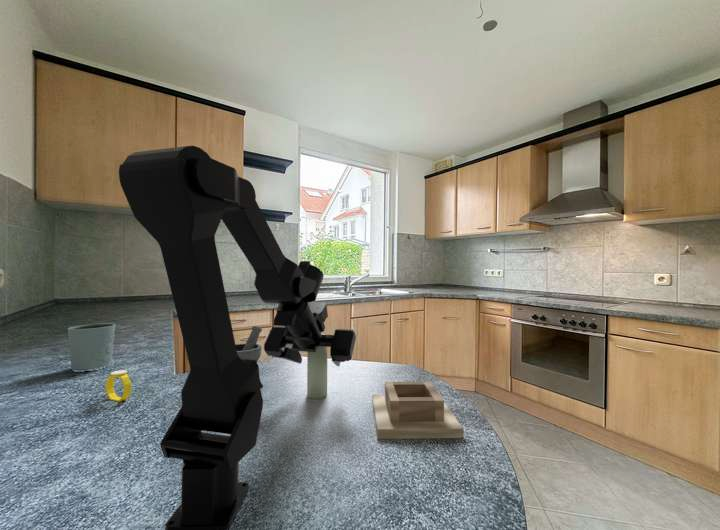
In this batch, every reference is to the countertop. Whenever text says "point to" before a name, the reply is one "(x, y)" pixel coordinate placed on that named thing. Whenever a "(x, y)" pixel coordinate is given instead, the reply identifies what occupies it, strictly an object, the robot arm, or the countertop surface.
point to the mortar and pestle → (250, 346)
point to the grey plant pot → (91, 345)
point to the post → (317, 373)
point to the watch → (127, 386)
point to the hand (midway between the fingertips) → (319, 362)
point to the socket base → (413, 413)
